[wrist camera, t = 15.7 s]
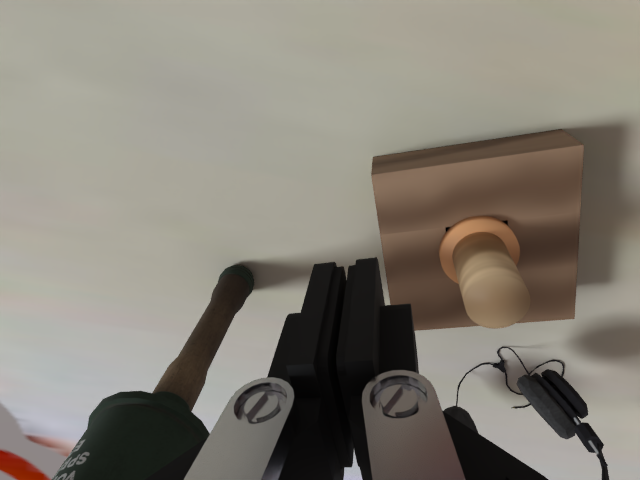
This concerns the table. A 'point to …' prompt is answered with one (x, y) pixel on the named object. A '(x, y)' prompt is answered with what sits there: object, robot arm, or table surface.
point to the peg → (486, 270)
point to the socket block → (481, 200)
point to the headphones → (548, 407)
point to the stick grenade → (158, 402)
